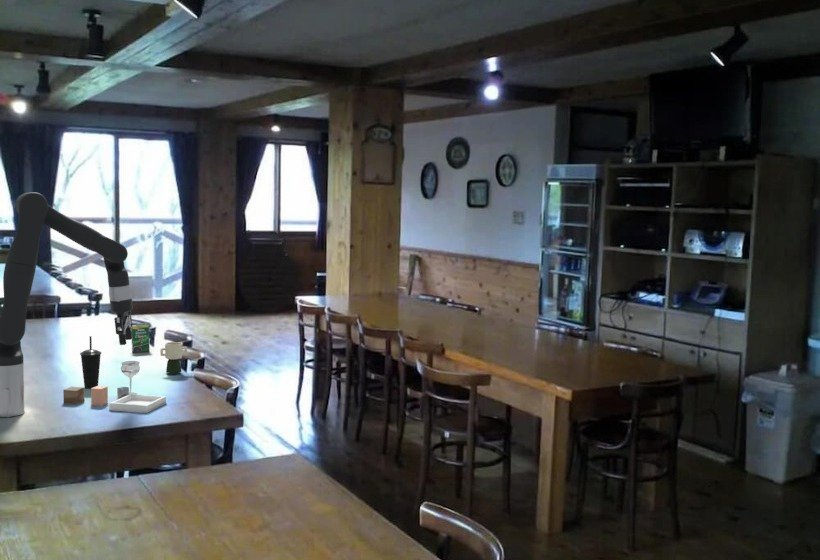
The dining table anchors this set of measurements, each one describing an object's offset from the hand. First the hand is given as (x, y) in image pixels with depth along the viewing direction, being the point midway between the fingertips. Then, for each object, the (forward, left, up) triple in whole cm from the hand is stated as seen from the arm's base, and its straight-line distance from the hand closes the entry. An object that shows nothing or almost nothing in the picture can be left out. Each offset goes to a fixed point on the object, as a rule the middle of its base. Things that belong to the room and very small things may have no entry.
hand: (126, 342), depth 289 cm
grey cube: (+1, +2, -21) cm, 22 cm away
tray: (-8, -9, -21) cm, 24 cm away
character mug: (+46, +5, -22) cm, 51 cm away
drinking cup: (+14, +23, -22) cm, 35 cm away
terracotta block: (-8, +6, -21) cm, 24 cm away
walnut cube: (-8, +16, -22) cm, 28 cm away
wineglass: (+8, +3, -22) cm, 23 cm away
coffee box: (+87, +42, -22) cm, 99 cm away
